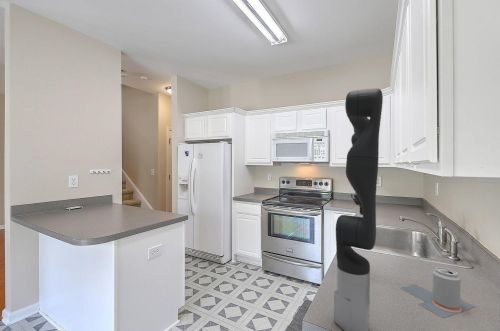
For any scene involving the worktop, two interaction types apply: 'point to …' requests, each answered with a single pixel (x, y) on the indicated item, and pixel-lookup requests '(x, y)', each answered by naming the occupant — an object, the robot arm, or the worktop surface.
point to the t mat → (431, 304)
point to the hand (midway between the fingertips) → (363, 214)
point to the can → (446, 288)
